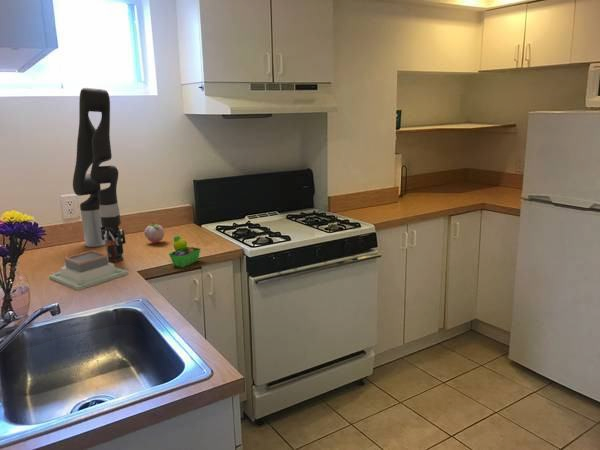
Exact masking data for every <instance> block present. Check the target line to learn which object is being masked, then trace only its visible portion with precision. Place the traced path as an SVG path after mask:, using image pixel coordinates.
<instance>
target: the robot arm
mask: <svg viewBox="0 0 600 450" xmlns="http://www.w3.org/2000/svg"><path fill="white" fill-rule="evenodd" d="M110 99H111V98H110V94H109V93H108V90H106V89H103V88H91V87H82V88H81V89H80V92H79V99H78V100H79V102H78V103H79V108H78V109H79V113H78V114H79V116H78V117H79V120H78V121H79V122H78V123H79V124H78V132H77V140H76V158H75V159H76V160H75V166H74V173H73V178H72V188H73V189H72V190H73V192H74V194H75V195H77V196H79V197H81V196H88V195H89V196H88V198H87V199H86V200H84V201H82V202H80V204H79V209H80V215H81V222H82V230H83V237H84V245H85V246H86V247H89V248H94V247H95V248H96V247H102V246H105V250H107V246H106V241H107V239H108V235H110V236H111V237H112V239H113V241H115V242H116V244H117V252H118V254H122V253H123V254H124V249H123V248H124V246H123V245H125V244H126V242H127V241H126V236H125V230H124V229H119V226H120V225H121V224H122V223H121V215H120V207H119V202H118V195H117V187H118V181H119V180H118V179H119V170H118V168H117V167H116V166H115V165H101V164H103V163H105V162H108V161H111V159H112V157H113V156H112V145H111V136H110V133H111V132H110V131H111V128H110V127H111V101H110ZM90 112H95V113H101V117H100V121H99V123H98V126H97V128H95V126H94V125H93V123H92V121H91V119H90V117H89V116H90V115H89V113H90ZM100 165H101V166H100ZM90 167H91V170H90V173H88V169H90ZM101 184H110V185H109V186H108V187H106V188H103V189H101ZM117 237H118V238H117ZM117 240H118V241H117Z"/></svg>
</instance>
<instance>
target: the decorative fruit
mask: <svg viewBox="0 0 600 450" xmlns="http://www.w3.org/2000/svg"><path fill="white" fill-rule="evenodd" d="M165 234H166V233H165V229H164V228H163V226H162V225H160V224H155V223H154V222H152V224H151V223H150V224H148V225H147V227H145V229H144V236H145V238H146V239H147V240H148V241H149V242H151V243H153V244H158V243H159V242H161V241H162V240H163V238H164V236H165Z"/></svg>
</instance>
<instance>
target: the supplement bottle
mask: <svg viewBox="0 0 600 450" xmlns="http://www.w3.org/2000/svg"><path fill="white" fill-rule="evenodd" d="M117 238H118V237H117ZM117 241H118V240H117ZM106 246H107V249H106V252H107V258H108V262H110V263H117V262H120V261H122V260H124V252H123V253H122V254H118V252H117V244H116V242H115V241H113V239H112V237H111V236H110V235H108V239H107V241H106V244H105V247H106Z"/></svg>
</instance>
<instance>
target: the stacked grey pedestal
mask: <svg viewBox="0 0 600 450" xmlns="http://www.w3.org/2000/svg"><path fill="white" fill-rule="evenodd" d="M64 262H65V265H64V266H62V267H60V271H56V272H54V273H52V274H49V275H48V277H49V279H50V280H53V281H55V282H57V283H60V284H62V285H64V286H67V287H69V288H72V289H74V290H77V291H81V290H84V289H87V288H89V287H92V286H96V285H99V284H101V283H105V282H108V281H112V280H114V279H117V278H120V277H123V276H127V275H129V271H128V270H126V269H123V268H119V267H116V266H115V263H114V262H110V261H109V259H108V254H105V253H102V252H99V251H96V250H93V249H91V250H88V251H85V252H81V253H77V254H73V255H70V256H66V257H64Z"/></svg>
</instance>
